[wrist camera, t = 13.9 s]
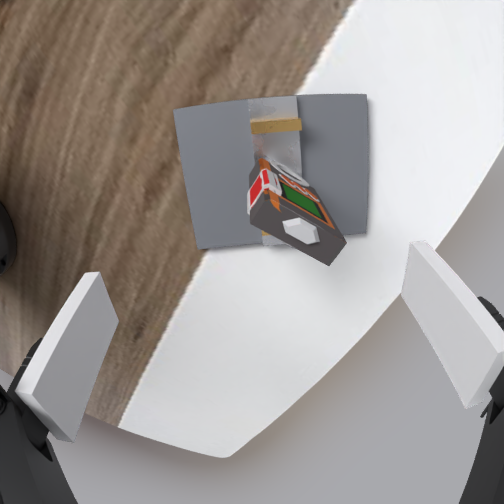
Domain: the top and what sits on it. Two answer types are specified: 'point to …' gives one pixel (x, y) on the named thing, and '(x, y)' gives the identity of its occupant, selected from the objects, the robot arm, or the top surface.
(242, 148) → the panel
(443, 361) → the robot arm
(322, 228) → the electronic device
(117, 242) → the top surface
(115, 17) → the top surface
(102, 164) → the top surface
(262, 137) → the rail
